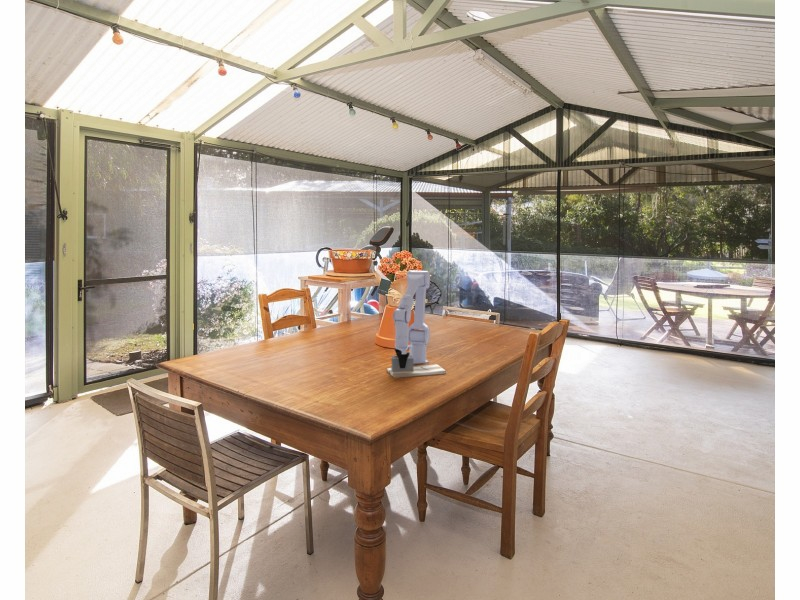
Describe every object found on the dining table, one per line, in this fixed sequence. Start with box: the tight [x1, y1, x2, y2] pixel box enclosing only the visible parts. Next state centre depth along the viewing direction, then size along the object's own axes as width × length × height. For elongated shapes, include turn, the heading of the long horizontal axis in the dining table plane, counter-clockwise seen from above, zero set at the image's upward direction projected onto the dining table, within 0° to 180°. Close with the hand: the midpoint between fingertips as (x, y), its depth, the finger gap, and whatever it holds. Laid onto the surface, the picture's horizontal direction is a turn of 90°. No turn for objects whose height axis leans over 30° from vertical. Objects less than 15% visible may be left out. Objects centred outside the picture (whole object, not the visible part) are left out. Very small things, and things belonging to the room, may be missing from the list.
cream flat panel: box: [386, 363, 447, 379], centre depth 219 cm, size 11×24×1 cm, turn 107°
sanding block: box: [390, 355, 414, 373], centre depth 216 cm, size 5×9×6 cm, turn 98°
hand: (401, 366), depth 216 cm, fingers closed on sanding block, 5 cm apart
